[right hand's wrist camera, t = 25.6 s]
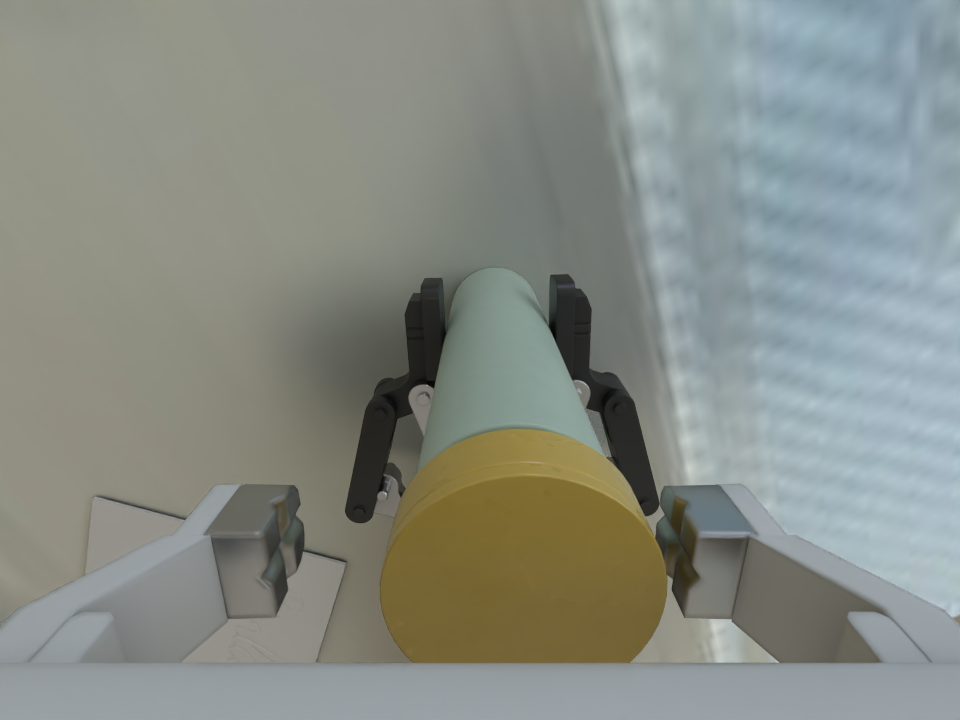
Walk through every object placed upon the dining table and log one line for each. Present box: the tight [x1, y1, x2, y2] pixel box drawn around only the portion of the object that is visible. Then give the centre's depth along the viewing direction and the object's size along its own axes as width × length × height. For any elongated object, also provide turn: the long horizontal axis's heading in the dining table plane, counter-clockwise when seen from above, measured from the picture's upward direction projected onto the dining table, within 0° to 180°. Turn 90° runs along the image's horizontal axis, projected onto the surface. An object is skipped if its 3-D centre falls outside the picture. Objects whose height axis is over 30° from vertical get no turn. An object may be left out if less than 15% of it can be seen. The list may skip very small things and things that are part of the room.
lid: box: [380, 429, 667, 663], centre depth 10 cm, size 5×5×2 cm
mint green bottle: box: [416, 267, 605, 474], centre depth 18 cm, size 4×4×18 cm
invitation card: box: [85, 497, 346, 663], centre depth 35 cm, size 21×1×15 cm
